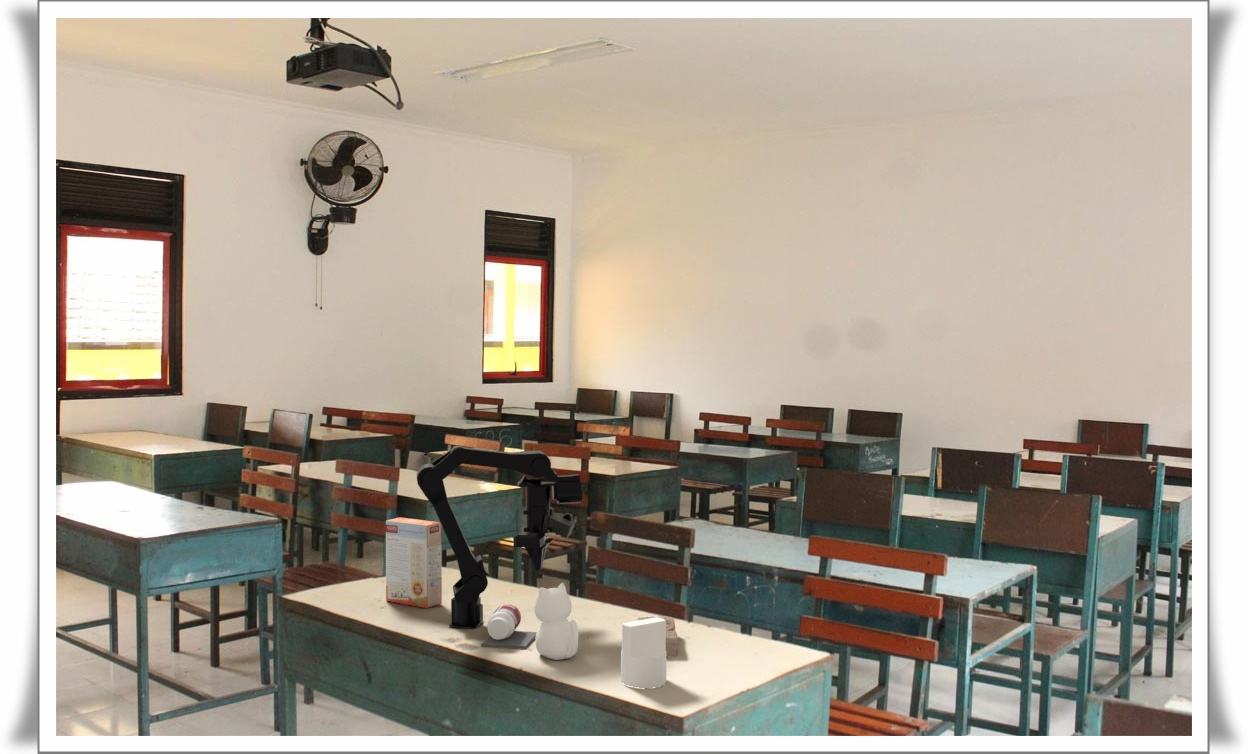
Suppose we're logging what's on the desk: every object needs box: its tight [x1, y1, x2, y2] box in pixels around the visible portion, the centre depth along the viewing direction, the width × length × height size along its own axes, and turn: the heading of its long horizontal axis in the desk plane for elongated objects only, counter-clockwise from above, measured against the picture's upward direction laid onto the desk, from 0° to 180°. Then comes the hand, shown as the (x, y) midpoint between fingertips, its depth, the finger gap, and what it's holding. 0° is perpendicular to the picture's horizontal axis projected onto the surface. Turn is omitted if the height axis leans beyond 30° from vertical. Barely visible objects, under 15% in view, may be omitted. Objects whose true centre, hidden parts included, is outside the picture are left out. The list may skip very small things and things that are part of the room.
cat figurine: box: [534, 582, 579, 661], centre depth 239 cm, size 9×12×15 cm
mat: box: [480, 630, 537, 650], centre depth 251 cm, size 10×11×1 cm
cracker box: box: [385, 517, 443, 609], centre depth 283 cm, size 14×6×21 cm, turn 58°
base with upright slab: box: [620, 616, 667, 689], centre depth 223 cm, size 9×9×12 cm
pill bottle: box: [486, 603, 522, 640], centre depth 252 cm, size 6×6×11 cm
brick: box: [636, 615, 679, 657], centre depth 248 cm, size 17×8×5 cm, turn 1°
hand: (538, 570), depth 266 cm, fingers closed
